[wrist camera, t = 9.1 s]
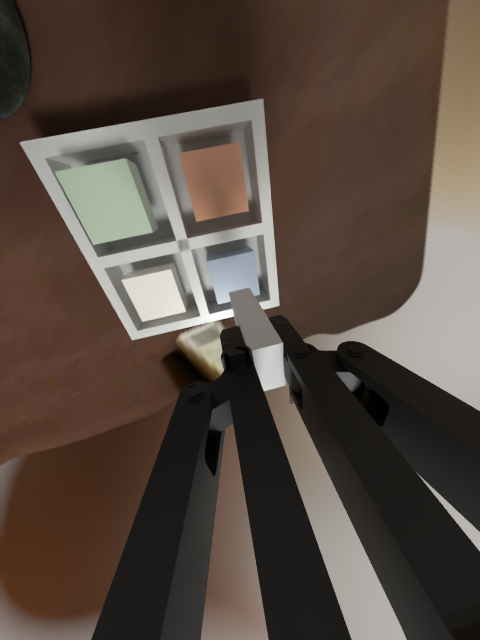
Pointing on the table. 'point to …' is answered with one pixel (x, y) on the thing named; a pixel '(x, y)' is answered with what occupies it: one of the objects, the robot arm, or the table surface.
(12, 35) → the mug
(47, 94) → the table surface
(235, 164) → the key terracotta
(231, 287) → the key slate
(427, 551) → the robot arm
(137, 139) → the frame
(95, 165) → the key sage
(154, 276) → the key ivory
